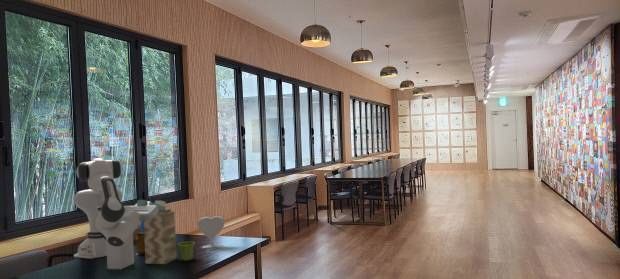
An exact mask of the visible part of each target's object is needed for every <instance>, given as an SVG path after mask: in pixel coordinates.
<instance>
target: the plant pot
mask: <svg viewBox="0 0 620 279" xmlns="http://www.w3.org/2000/svg"><path fill="white" fill-rule="evenodd" d="M195 244H196V242H195V241H182V242H178V243H176V246H178V250H179V254H180V260H181V261H190V260H192V259H193V258H194V250H195V249H194V248H195Z"/></svg>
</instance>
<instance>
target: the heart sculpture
mask: <svg viewBox="0 0 620 279" xmlns="http://www.w3.org/2000/svg"><path fill="white" fill-rule="evenodd" d="M224 219H225V218H224V217H222V216H219V215H215V216H212V217H210V216H203V217H201V218H199V219H198V221H197V228H198V230H199V231H200V232H201V233H202V234H203V235H204V236H205V237H208V238H210V244H207V245H202V246H203V247H202V246H201V247H202V248H201V249H209V248H221V247H224V245H223V244H214V240H215V239H214V238H215V237H216V236H218V235H219V234H220V233H221V232H222V230H223V229H224V227H225V220H224Z"/></svg>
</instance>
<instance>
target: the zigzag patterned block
mask: <svg viewBox="0 0 620 279" xmlns="http://www.w3.org/2000/svg"><path fill="white" fill-rule="evenodd" d="M171 210H172V209H171V208H167V209H165V210H164V211H160V212H158V213H157V214H156V216H155V217H154V218H152V219H150V220H144V241H145V254H144V257H145V259H144V260H145V264H150V265H167V264H169V263H171V262H172V261H174V260H177V240H176V238H177V237H176V222H175V221H176V220H175V217H176V216H175V211H171Z"/></svg>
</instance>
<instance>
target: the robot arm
mask: <svg viewBox="0 0 620 279" xmlns="http://www.w3.org/2000/svg"><path fill="white" fill-rule="evenodd" d="M122 167H123V166H122V164H121V162H120V161H119V160H117V159H103V158H101V157H100V158H93V159H92V160H91V161H84V162H81V163H79V164H78V165H77V167H76V171H75V172H76V176H77V178H78V180H79V181H80V182H85V183H87V186H88V188H89V189H84V190H79V191H77V192H76V193H75V195H74V197H73V198H74V199H73V201H74V205H75V206H76V207H77V208H79V209H80V210H82V211H83V212H84V214H85V215H86V216H87V218H88V223H89V231H88V232H86V233H85V234H86V236H87V238H85V240H84V241H83V242H81V243H80V244H79V245H78V248H77V253H75V254H73V258H80V259H95V258H101V257H107V246H106V239H107V242H108V243H109V244H110V245H112V246H122V245H123V244H125V243H126V242H127V241H128V240H129V238H130V237H131V236H132V235H134V232H135V231H136V230H138V228H139V226H141V222H142V220H150V219H152V218H154V217H155V216H156V214H157V213H158V212H159V210H158V207H157V206H156V205H154V206H150V205H151V202H152V201H151V200H150V201H148V200H147V201H148V202H147V205H146V206H137V203H136V204H134V205H124V204H123V202H122V201H123V192H122V191H121V189H120V188H119V187H117V185H116V182H115V179H119V178H120V177H121V175H122V172H123V168H122ZM99 208H101V209H100V210H99Z"/></svg>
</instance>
